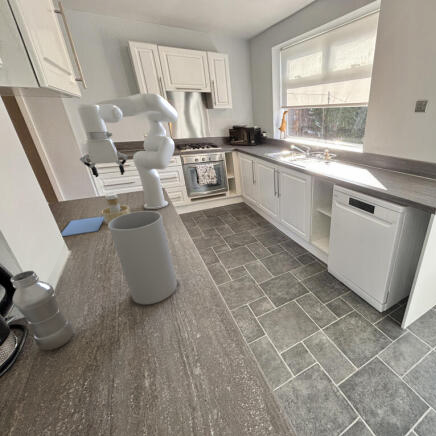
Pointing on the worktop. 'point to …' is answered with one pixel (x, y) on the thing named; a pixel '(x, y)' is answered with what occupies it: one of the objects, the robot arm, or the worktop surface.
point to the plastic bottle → (41, 310)
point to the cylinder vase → (144, 255)
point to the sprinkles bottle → (113, 203)
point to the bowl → (108, 216)
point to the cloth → (83, 226)
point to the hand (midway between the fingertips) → (110, 175)
